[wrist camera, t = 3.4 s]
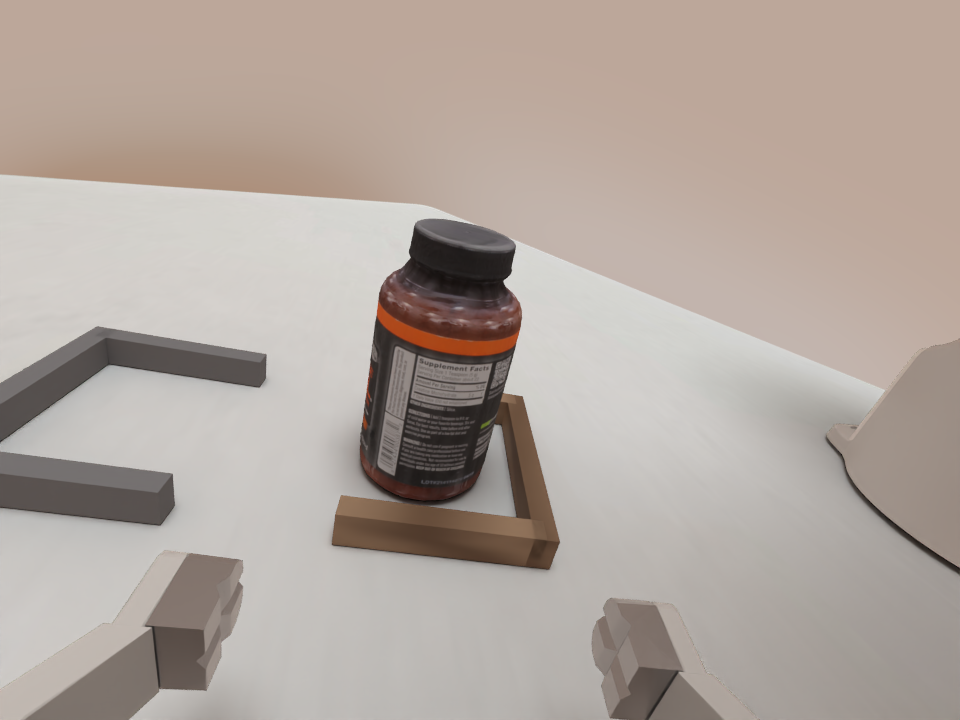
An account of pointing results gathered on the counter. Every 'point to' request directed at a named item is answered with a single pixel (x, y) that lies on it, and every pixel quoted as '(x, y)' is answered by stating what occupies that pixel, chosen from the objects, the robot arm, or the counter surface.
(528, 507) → the walnut bay
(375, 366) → the supplement bottle
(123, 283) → the counter surface
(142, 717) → the counter surface
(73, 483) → the charcoal bay
